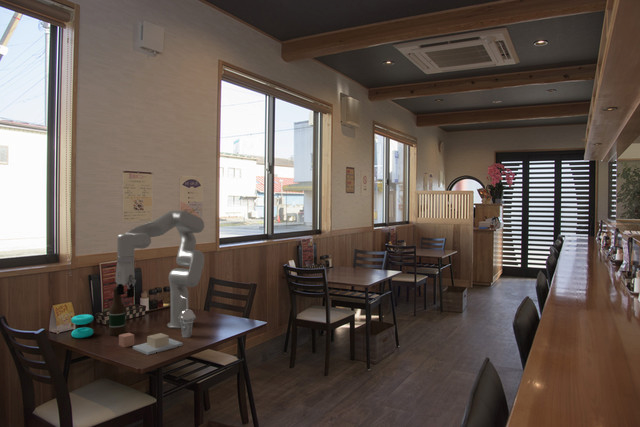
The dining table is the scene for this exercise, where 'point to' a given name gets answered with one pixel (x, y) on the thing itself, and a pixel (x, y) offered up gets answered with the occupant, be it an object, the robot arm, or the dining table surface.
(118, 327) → the beer bottle
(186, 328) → the cup with straw
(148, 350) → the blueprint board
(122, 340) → the terracotta block
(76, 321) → the turquoise yo-yo
